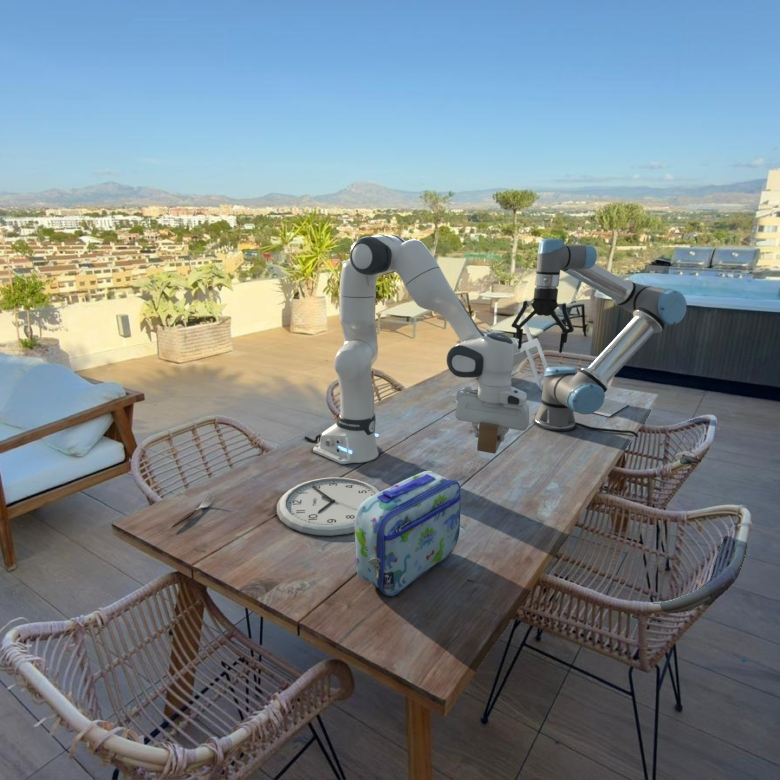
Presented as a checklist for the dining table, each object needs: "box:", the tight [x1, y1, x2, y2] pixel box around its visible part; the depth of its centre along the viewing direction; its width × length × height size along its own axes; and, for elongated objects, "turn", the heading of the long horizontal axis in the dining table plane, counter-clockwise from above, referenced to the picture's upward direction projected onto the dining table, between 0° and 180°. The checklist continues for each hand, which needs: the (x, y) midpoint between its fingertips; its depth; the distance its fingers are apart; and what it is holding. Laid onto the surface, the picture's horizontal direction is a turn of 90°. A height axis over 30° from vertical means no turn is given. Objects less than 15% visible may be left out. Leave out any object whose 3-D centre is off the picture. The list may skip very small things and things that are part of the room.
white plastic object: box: [483, 306, 549, 391], centre depth 258 cm, size 37×45×31 cm
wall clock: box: [276, 476, 382, 537], centre depth 142 cm, size 30×2×30 cm
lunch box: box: [354, 470, 461, 597], centre depth 113 cm, size 26×11×21 cm, turn 134°
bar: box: [476, 422, 504, 455], centre depth 157 cm, size 28×5×8 cm, turn 158°
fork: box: [171, 493, 217, 529], centre depth 137 cm, size 3×16×2 cm, turn 160°
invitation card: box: [593, 398, 629, 418], centre depth 226 cm, size 21×1×15 cm
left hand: (489, 438), depth 148 cm, fingers closed on bar, 5 cm apart
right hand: (539, 350), depth 179 cm, fingers open, 13 cm apart
